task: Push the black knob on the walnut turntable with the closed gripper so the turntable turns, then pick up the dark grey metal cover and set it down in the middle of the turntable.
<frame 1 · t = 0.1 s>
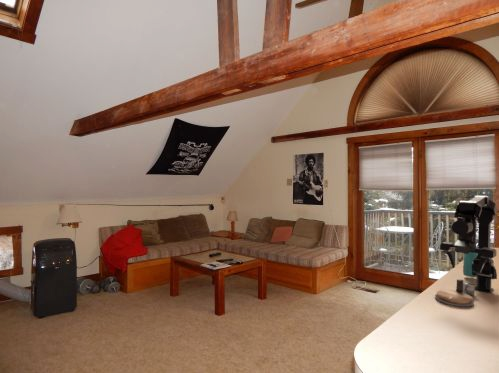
hand: (466, 270, 138), 14 cm above the counter, tool pointing down, fingers open, 9 cm apart
turntable: (455, 290, 144), point 4 cm above the counter, hinge at 0.0°
cover: (467, 294, 151), on the counter
beverage bottle: (470, 278, 175), on the counter
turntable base: (454, 300, 143), on the counter
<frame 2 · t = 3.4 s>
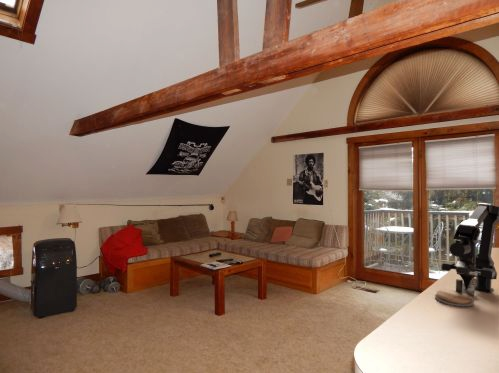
hand: (467, 289, 146), 4 cm above the counter, tool pointing down, fingers closed
turntable: (455, 290, 144), point 4 cm above the counter, hinge at 1.9°, touching gripper
everything else where it was.
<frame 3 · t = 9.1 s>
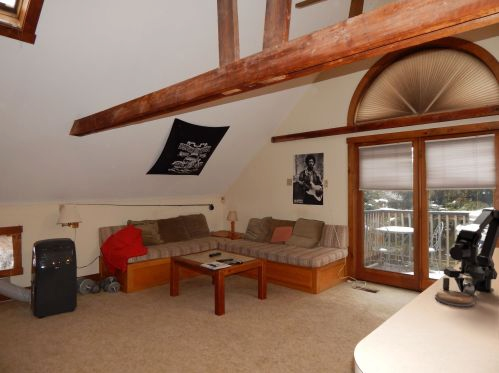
hand: (467, 292, 151), 1 cm above the counter, tool pointing down, fingers closed on cover, 5 cm apart
turntable: (453, 290, 144), point 4 cm above the counter, hinge at 43.1°
cover: (467, 294, 151), on the counter, touching gripper
everything else where it was.
when the fingers open (5 cm above the counter, at t = 12.9 s): cover drops 1 cm, resting on turntable.
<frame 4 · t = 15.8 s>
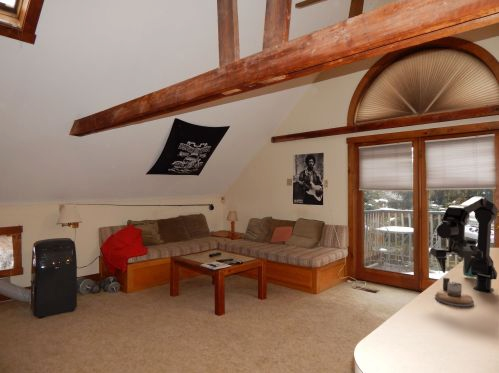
hand: (455, 272, 143), 12 cm above the counter, tool pointing down, fingers open, 9 cm apart
turntable: (453, 290, 144), point 4 cm above the counter, hinge at 43.1°, touching cover
cover: (454, 295, 143), point 2 cm above the counter, touching turntable
everything else where it was.
at the end: cover 0.0 cm off-centre on the turntable, point 2.4 cm above the turntable's base; turntable at +43° (first picture: +0°); cover tilted 0° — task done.
